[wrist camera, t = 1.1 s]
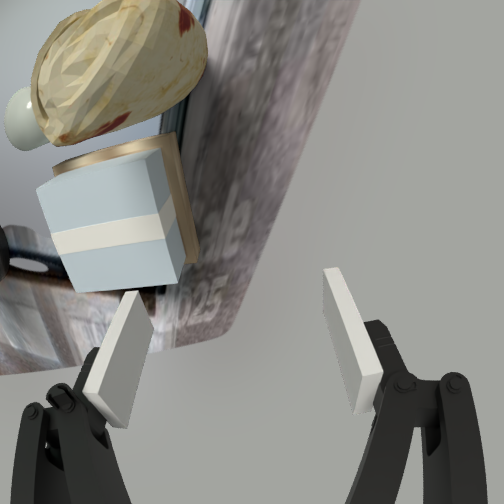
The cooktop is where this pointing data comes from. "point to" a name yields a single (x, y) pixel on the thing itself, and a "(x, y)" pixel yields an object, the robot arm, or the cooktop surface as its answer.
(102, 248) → the flat box
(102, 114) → the food model
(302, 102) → the cooktop surface
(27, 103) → the pale green rounded knob
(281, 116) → the cooktop surface
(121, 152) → the tan square plate
